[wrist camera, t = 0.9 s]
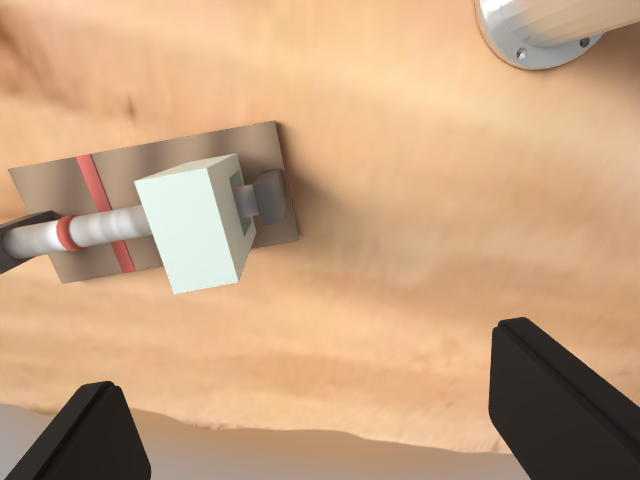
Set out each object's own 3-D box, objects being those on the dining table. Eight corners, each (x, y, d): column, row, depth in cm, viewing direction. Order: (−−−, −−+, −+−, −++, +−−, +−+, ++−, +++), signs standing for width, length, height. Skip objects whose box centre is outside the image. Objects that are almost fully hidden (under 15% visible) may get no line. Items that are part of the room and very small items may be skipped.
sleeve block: (236, 153, 28) (206, 167, 18) (256, 232, 30) (238, 282, 21) (189, 161, 28) (133, 181, 18) (212, 240, 30) (174, 294, 21)
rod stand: (275, 120, 30) (268, 119, 22) (298, 236, 34) (299, 270, 26) (18, 167, 30) (-82, 183, 22) (69, 278, 33) (-1, 326, 26)
